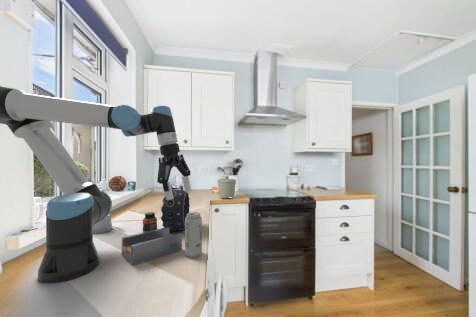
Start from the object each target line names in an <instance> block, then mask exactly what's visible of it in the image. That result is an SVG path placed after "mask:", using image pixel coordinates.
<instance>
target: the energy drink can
mask: <svg viewBox="0 0 476 317" xmlns="http://www.w3.org/2000/svg"><path fill="white" fill-rule="evenodd" d="M202 219H203V218H202V216H201V213H200V212H194V211H193V212H189V213H188V214H187V216H186V218H185V228H184V254H185V255H186V257H187V258H189V259H195V258H198V257H200V256H201V254H202V253H203V244H202V243H203V242H202V241H203V240H202V239H203V238H202V237H203V224H202V223H203V220H202Z"/></svg>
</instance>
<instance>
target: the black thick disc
mask: <svg viewBox="0 0 476 317" xmlns="http://www.w3.org/2000/svg"><path fill="white" fill-rule="evenodd" d="M172 194H173V198H174V199H170V200H166V196H165V193H164V196H163V198H162V199H161V200H162V206H161V208H160V211H161V217H160V220H161V222H162V224H161V226H162V228H165V227H169V231H173V232H174V231H181V230H185V218H186V216H187V214H188V213H190V208H191V207H190V205H191V204H190V197H189V196H190V195H189V192H188V191H185V189H184V190H183V189H172Z"/></svg>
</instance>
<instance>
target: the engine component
mask: <svg viewBox="0 0 476 317" xmlns="http://www.w3.org/2000/svg"><path fill="white" fill-rule="evenodd" d="M99 190H100V191H102V192H105V189H104V188H99ZM111 217H112V216H111V214H108V215H107V216H106V217H105V218H104V219H103V220H101V221H100V222H97V223H96V224H94V225H93V234H101V232H102V233H106V232H108V230H109V231H112V229H113V222H112V219H111Z"/></svg>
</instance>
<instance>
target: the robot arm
mask: <svg viewBox="0 0 476 317" xmlns="http://www.w3.org/2000/svg"><path fill="white" fill-rule="evenodd" d="M54 122H56V123H63V124H64V123H65V124H73V125H83V126H91V127H92V126H93V127H101V128H107V129H108V128H109V129H114V130H120V131H121V133H122V134H123V135H124V136H125V137H128V138H129V137H136V136H140V135H145V134H151V133H153V134H154V133H156V138H157V143H158V146H160V147H159V150H160V154H161V156H162V157H158V171H157V183H159V185H162V189H163V192H164V194H165V195H164V197H165V196H166V200H170V199H174V198H173V194H172V190H173V189H172V186H171V185H172V184H171V182H170V181H169V179H170V176H171V172H172V169H173V168H176V169H177V171H178V172H179V173H180V174H181V175H182V178H181V179H182V184H183V187H184V191H186V192H190V191H192V188H191V183H190V182H191V181H190V179H189V176H191V174H192V173H191V170H190V168H189V166H188V164H187V162H186V160H185V157H184V154H179V153H180V152H181V150H180V146H179V143H178V137H177V136H178V135H177V133H176V128H175V126H176V125H175V123H174V122H175V121H174V118H173V113H172V110H171V107H169V106H167V105H157V106H154V107H152V108H151V112H150V113H147V114H140V113H139V111H137V110H136V109H135V108H134V107H132V106H130V105H128V104H120V105H117V106H116V105H110V104H104V103H95V102H89V101H80V100H74V99H68V98H67V99H66V98H61V97H52V96H47V95H46V96H45V95H39V94H32V93H31V94H30V93H26V91H25V90H22V89H20V88H15V87H14V88H13V87H8V86H7V87H6V86H2V85H1V86H0V124H1V125H2V124H3V125H6V126H7V127H8V129H9V130H10V132H11V133H12V134H13V135H14V137H16V138H18V139H23V140H24V142H25V143H26V145H28V147H29V148H30V150H31V151H32V153H33V154H34V156H35V157H36V158H37V160H39V162H40V163H41V166H43V168H44V169H45V171H46V172H47V173H48V175H49V176H50V177H51V179H52V180H53V182H54V183H55V185H57V186H56V187H58V189H59V190H60V191H61V192H62V194H60V195H58V196H55V197H52V198H51V199H49V200H48V201H47V203H46V210H45V216H46V217H45V218H46V219H45V221H46V222H45V228H46V230H45V231H46V232H45V233H46V234H45V238H46V240H45V241H46V242H45V243H46V244H45V251H44V255H43V257H42V259H41V262H40V264H39V267H38V270H37V280H38V281H39V282H41V283H60V282H64V281H65V282H66V281H69V280H73V279H77V278H80V277H81V276H83V275H86V274H88V273H91V272H92V271H94V270H95V269H96V268H97V267H98V266H99V264H100V255H99V254H98V251H97V248H96V246H95V244H94V238H93V237H94V233H93V225H94V224H96V223H97V222H100V221H101V220H103V219H104V218H105V217H106V216H107V215H110V213H111V211H112V208H113V207H112V206H113V201H112V198H111V196H110V195H109V194H108V193H107V192H106V191H104V192H102V191H100V190H99V189H100V188H99V187H98V185H97V184H96V183H95V182H91V181H89V180H88V179H87V178H86V175H85V174H84V173H83V172H82V170H81V169H80V167H79V166H78V164H77V163H76V162H75V160H74V159H73V157H72V156H71V154H70V153H69V151H68V150H67V149H66V147H65V146H64V145H63V143H62V142H61V140H60V139H59V137H58V136H57V134H56V133H55V132H54V130H53V128H54V125H55V123H54Z"/></svg>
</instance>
